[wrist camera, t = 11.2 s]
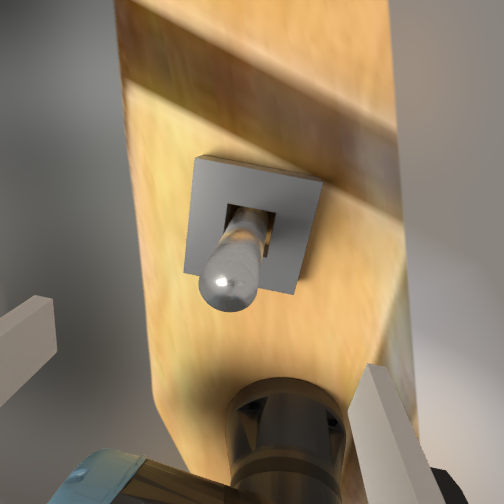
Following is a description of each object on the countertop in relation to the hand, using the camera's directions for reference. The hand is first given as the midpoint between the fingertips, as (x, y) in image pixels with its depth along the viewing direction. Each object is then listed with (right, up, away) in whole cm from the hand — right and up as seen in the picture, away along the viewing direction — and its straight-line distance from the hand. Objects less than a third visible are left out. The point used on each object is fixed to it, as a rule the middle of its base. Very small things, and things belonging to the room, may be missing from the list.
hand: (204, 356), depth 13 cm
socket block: (+2, +7, +18) cm, 19 cm away
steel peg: (+2, +8, +18) cm, 19 cm away
